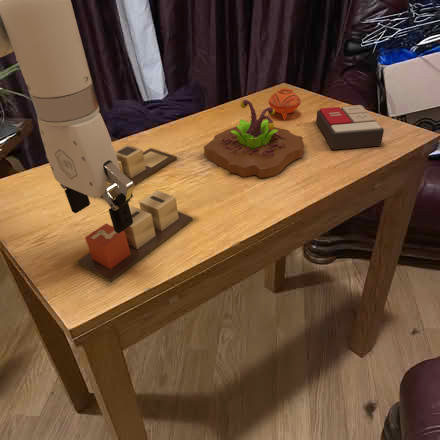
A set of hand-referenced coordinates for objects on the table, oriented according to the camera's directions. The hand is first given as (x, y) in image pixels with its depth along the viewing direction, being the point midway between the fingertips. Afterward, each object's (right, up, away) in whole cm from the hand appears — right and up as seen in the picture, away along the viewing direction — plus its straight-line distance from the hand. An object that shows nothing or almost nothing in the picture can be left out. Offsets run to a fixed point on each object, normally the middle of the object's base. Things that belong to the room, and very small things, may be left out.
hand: (102, 218), depth 65 cm
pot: (+34, +34, +44) cm, 65 cm away
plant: (+25, +19, +30) cm, 44 cm away
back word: (-1, +14, +26) cm, 30 cm away
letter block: (0, -5, +5) cm, 8 cm away
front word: (+4, -2, +9) cm, 10 cm away
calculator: (+47, +25, +34) cm, 64 cm away
